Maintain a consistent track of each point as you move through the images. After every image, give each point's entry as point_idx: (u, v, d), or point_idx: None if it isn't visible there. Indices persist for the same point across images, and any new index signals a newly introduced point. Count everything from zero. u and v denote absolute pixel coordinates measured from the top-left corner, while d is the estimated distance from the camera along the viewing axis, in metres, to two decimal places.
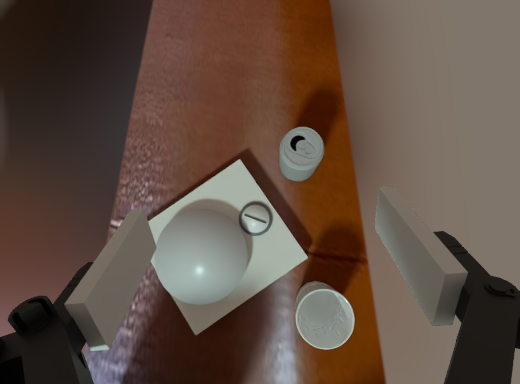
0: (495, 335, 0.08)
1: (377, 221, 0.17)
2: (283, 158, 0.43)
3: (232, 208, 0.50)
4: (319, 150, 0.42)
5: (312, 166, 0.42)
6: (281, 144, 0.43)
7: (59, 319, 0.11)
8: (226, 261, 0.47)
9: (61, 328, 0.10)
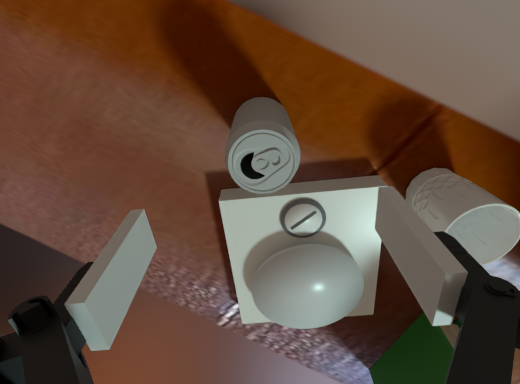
0: (495, 335, 0.08)
1: (377, 221, 0.17)
2: None
3: (275, 235, 0.38)
4: (283, 140, 0.23)
5: (298, 159, 0.25)
6: None
7: (59, 319, 0.11)
8: (330, 273, 0.39)
9: (61, 328, 0.10)
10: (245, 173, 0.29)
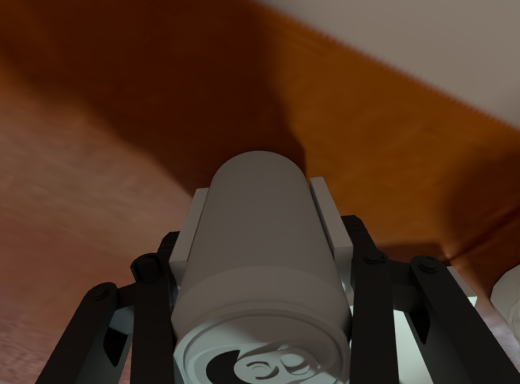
0: (378, 298, 0.10)
1: None
2: None
3: None
4: (319, 327, 0.09)
5: (350, 340, 0.10)
6: None
7: (166, 277, 0.12)
8: None
9: (166, 286, 0.11)
10: None
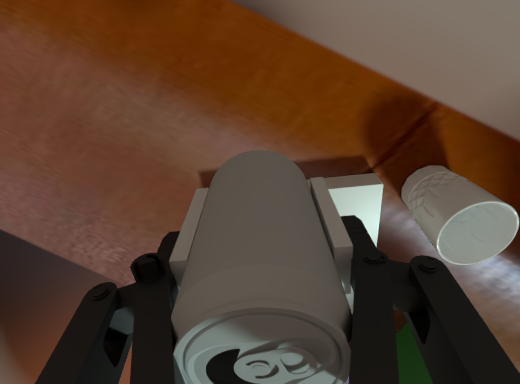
0: (378, 298, 0.10)
1: None
2: None
3: None
4: (319, 326, 0.09)
5: (349, 339, 0.10)
6: None
7: (166, 277, 0.12)
8: None
9: (167, 286, 0.11)
10: None
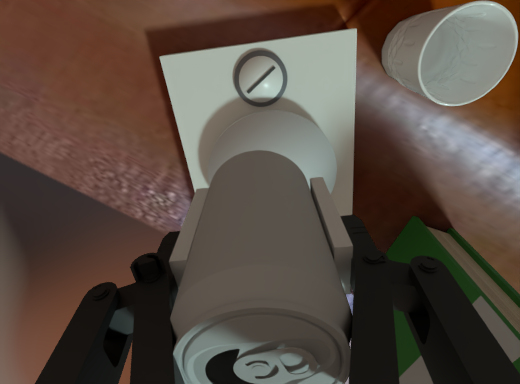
0: (378, 298, 0.10)
1: None
2: None
3: (231, 105, 0.33)
4: (318, 326, 0.09)
5: (349, 340, 0.10)
6: (210, 382, 0.11)
7: (166, 277, 0.12)
8: (296, 148, 0.33)
9: (166, 286, 0.11)
10: None
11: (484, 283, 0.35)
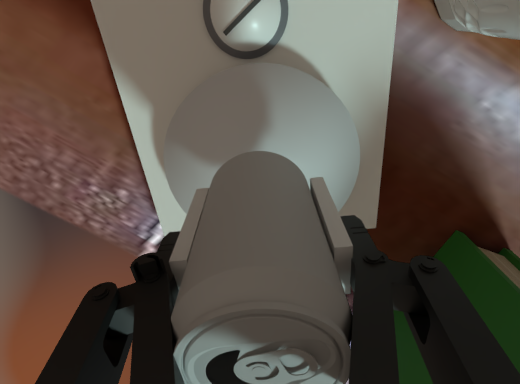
0: (378, 298, 0.10)
1: None
2: None
3: (199, 56, 0.21)
4: (318, 327, 0.09)
5: (349, 341, 0.10)
6: (211, 383, 0.11)
7: (166, 277, 0.12)
8: (300, 126, 0.22)
9: (166, 286, 0.11)
10: None
11: None
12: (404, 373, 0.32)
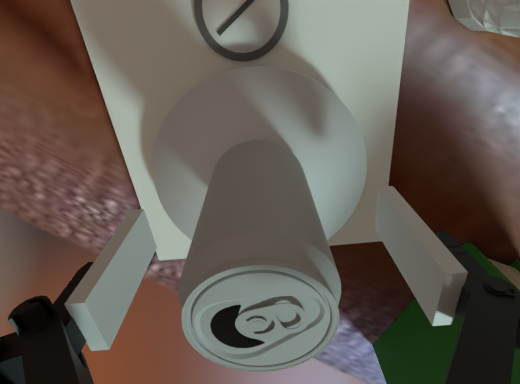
0: (495, 335, 0.08)
1: (377, 221, 0.17)
2: None
3: (190, 57, 0.19)
4: (309, 284, 0.10)
5: (337, 302, 0.12)
6: None
7: (59, 319, 0.11)
8: (301, 135, 0.20)
9: (61, 328, 0.10)
10: None
11: None
12: None
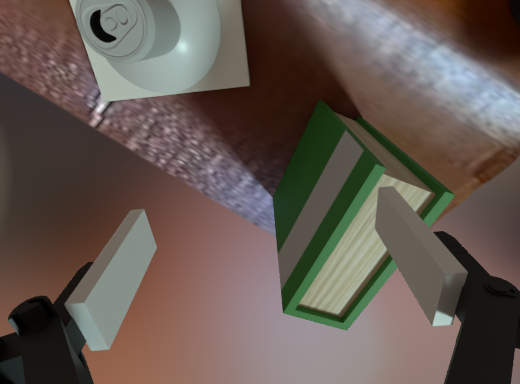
0: (495, 335, 0.08)
1: (377, 221, 0.17)
2: (123, 62, 0.27)
3: None
4: None
5: (152, 23, 0.25)
6: None
7: (59, 319, 0.11)
8: None
9: (61, 328, 0.10)
10: None
11: (365, 138, 0.35)
12: (282, 205, 0.44)
